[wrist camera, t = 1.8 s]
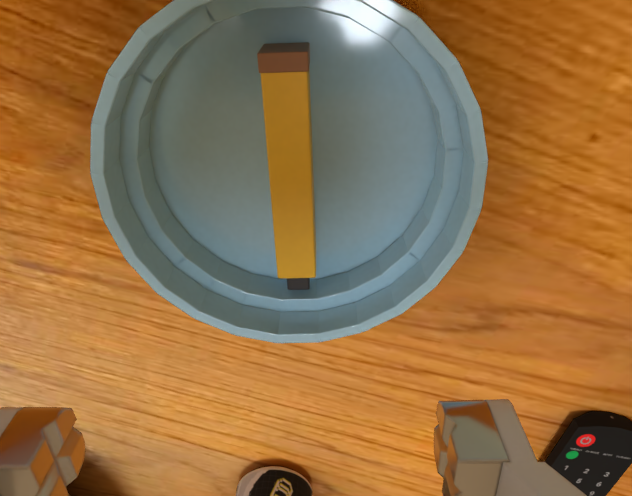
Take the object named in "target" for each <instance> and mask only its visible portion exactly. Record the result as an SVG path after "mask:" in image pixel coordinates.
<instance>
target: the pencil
mask: <svg viewBox="0 0 632 496" xmlns="http://www.w3.org/2000/svg"><path fill="white" fill-rule="evenodd" d="M257 58H258V70H259V73H260V74H261V86H262V98H263V110H264V122H265V134H266V146H267V157H268V169H269V181H270V193H271V205H272V217H273V229H274V240H275V252H276V264H277V276H278V278H279V279H282V278H287V288H288V290H308V289H309V288H310V278H315V277H316V227H315V201H314V175H313V149H312V123H311V98H310V72H309V65H310V43H309V42H301V43H272V44H263V46H262V47H261V49H260V50H259V52H258V53H257Z"/></svg>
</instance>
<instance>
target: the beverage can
mask: <svg viewBox="0 0 632 496" xmlns="http://www.w3.org/2000/svg"><path fill="white" fill-rule="evenodd" d="M236 496H312V488H311V485H310V483H309V482H308V481H307V479H306V478H305V477H303V476H302V475H301V474H299V473H298V472H296V471H293V470H291V469H288V468H285V467H280V466H268V467H263V468H259V469H255V470H253V471H251V472H249V473H248V474H246V475H245V476H244V477H243V478H242V479H241V480H240V482H239V484H238V486H237V492H236Z"/></svg>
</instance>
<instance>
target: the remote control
mask: <svg viewBox="0 0 632 496" xmlns="http://www.w3.org/2000/svg"><path fill="white" fill-rule="evenodd" d="M545 462H546V463H547V464H548V465H549V466H550V467H552V468H553V469H554V470H555V471H557V472H558V473H559V474H560V475H562V476H563V477H564V478H565V479H567V480H568V481H569V482H570V483H572V484H573V485H574V486H575V487H577V488H578V489H579V490H580V491H582V492H583V493H584V494H585V495H587V496H606V495H607V493H608V492H609V491H610V490H611V488H612V487H613V486H614V485H615V483H616V482H617V481H618V480H619V478H620V477H621V476H622V475H623V473H624V472H625V471H626V470H627V468H628V467H629V466H630V465H631V464H632V422H631V421H630V420H629V419H627V418H626V417H622V416H619V415H616V414H613V413H610V412H595V411H591V412H588V413H586V414H584V415H581V416H579V417H577V418H575V419H573V421H572V422H571V424H570V425H569V427H568V428H567V430H566V431H565V433H564V434H563V436H562V437H561V439H560V440H559V442H558V443H557V444H556V446H555V447H554V449H553V450H552V452H551V453H550V455H549V456H548V458H547V459H546V461H545Z"/></svg>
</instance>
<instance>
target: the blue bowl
mask: <svg viewBox="0 0 632 496" xmlns="http://www.w3.org/2000/svg"><path fill="white" fill-rule="evenodd" d="M301 42H309V43H310V65H309V72H310V98H311V123H312V149H313V175H314V201H315V227H316V277H315V278H310V288H309V289H308V290H288V288H287V278H282V279H279V278H278V276H277V264H276V252H275V240H274V229H273V217H272V205H271V193H270V181H269V169H268V157H267V146H266V134H265V122H264V110H263V98H262V86H261V74H260V73H259V70H258V58H257V53H258V52H259V50H260V49H261V47H262V46H263V44H272V43H301ZM487 168H488V154H487V147H486V140H485V133H484V126H483V119H482V112H481V108H480V106H479V104H478V102H477V100H476V98H475V95H474V93H473V91H472V89H471V87H470V85H469V83H468V80H467V78H466V76H465V74H464V72H463V70H462V67H461V65H460V63H459V61H458V60H457V58H456V57H455V56H454V55H453V54H452V53H451V52H450V50H449V49H448V48H447V47H446V46H445V45H444V44H443V43H442V41H441V40H440V39H439V38H438V37H437V36H436V35H435V34H434V32H433V31H432V30H431V29H430V28H429V27H428V26H427V25H426V23H425V22H424V21H423V20H422V19H421V18H420V17H419V16H418V15H416V14H415V13H413V12H411V11H410V10H408V9H406V8H405V7H403V6H402V5H400V4H398V3H397V2H395V1H393V0H173V1H172V2H170V3H169V4H168V5H166V6H165V7H164V8H163V9H161V10H160V11H159V12H157V13H156V14H155V15H153V16H152V17H151V18H149V19H148V20H147V21H145V22H144V23H143V24H141V25H140V27H139V28H137V30H136V31H135V33H134V34H133V36H132V37H131V38H130V40H129V41H128V43H127V44H126V45H125V47H124V48H123V50H122V51H121V53H120V54H119V55H118V57H117V58H116V60H115V61H114V63H113V64H112V65H111V67H110V68H109V70H108V73H106V76H105V80H104V83H103V86H102V89H101V92H100V95H99V99H98V102H97V105H96V108H95V111H94V114H93V117H92V123H91V157H90V172H91V173H90V174H91V178H92V181H93V185H94V189H95V193H96V196H97V200H98V204H99V208H100V211H101V215H102V219H103V221H104V222H105V224H106V226H107V228H108V229H109V231H110V233H111V235H112V237H113V238H114V240H115V242H116V244H117V245H118V247H119V249H120V251H121V252H122V254H123V256H124V258H125V259H126V260H127V262H128V263H129V264H130V265H131V266H132V267H133V268H134V269H135V270H136V271H137V273H138V274H139V275H140V276H141V277H142V278H143V279H144V280H145V281H146V282H147V283H148V284H149V285H150V286H151V288H152V289H153V290H154V291H155V292H156V293H158V294H159V295H160V296H162V297H163V298H165V299H166V300H167V301H169V302H170V303H172V304H173V305H175V306H176V307H178V308H179V309H181V310H182V311H184V312H185V313H187V314H188V315H189V316H191V317H192V318H195V319H196V320H199V321H201V322H204V323H206V324H208V325H211V326H213V327H216V328H218V329H221V330H223V331H226V332H228V333H231V334H233V335H234V334H235V335H236V336H241V337H246V338H252V339H257V340H263V341H268V342H273V343H312V342H320V341H321V342H323V341H328V340H332V339H336V338H341V337H345V336H349V335H354V334H358V333H361V332H364V331H367V330H369V329H371V328H373V327H375V326H377V325H379V324H381V323H384V322H386V321H388V320H390V319H392V318H394V317H396V316H398V315H400V314H402V313H404V312H405V311H406V310H407V309H409V308H410V307H411V306H412V305H414V304H415V303H416V302H418V301H419V300H420V299H421V298H423V297H424V296H425V295H426V294H428V293H429V292H430V291H431V290H433V289H434V288H435V286H437V285H438V284H439V282H440V281H441V280H442V278H443V277H444V276H445V275H446V273H447V272H448V271H449V269H450V268H451V267H452V266H453V264H454V263H455V262H456V261H457V259H458V258H459V257H460V255H461V254H462V253H463V251H464V249H465V247H466V244H467V242H468V240H469V237H470V235H471V233H472V230H473V228H474V226H475V223H476V221H477V219H478V217H479V214H480V212H481V208H482V204H483V197H484V189H485V182H486V175H487Z"/></svg>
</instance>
